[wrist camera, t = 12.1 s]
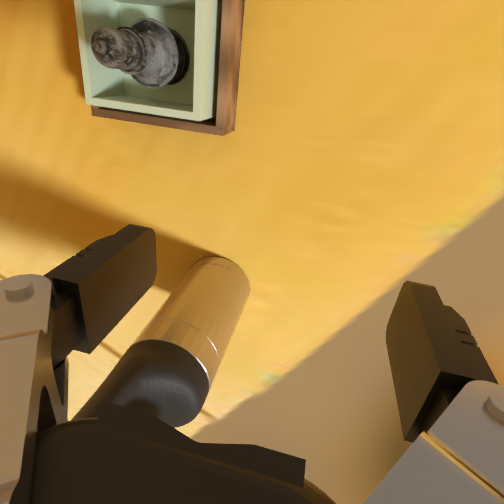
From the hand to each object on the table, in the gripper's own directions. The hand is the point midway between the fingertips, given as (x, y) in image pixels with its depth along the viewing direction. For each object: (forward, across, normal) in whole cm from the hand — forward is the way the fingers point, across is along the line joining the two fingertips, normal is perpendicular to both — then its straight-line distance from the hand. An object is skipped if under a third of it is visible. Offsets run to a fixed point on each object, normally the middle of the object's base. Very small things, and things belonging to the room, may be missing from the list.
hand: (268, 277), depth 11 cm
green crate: (+29, +17, -6) cm, 34 cm away
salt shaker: (+29, +17, -6) cm, 34 cm away
